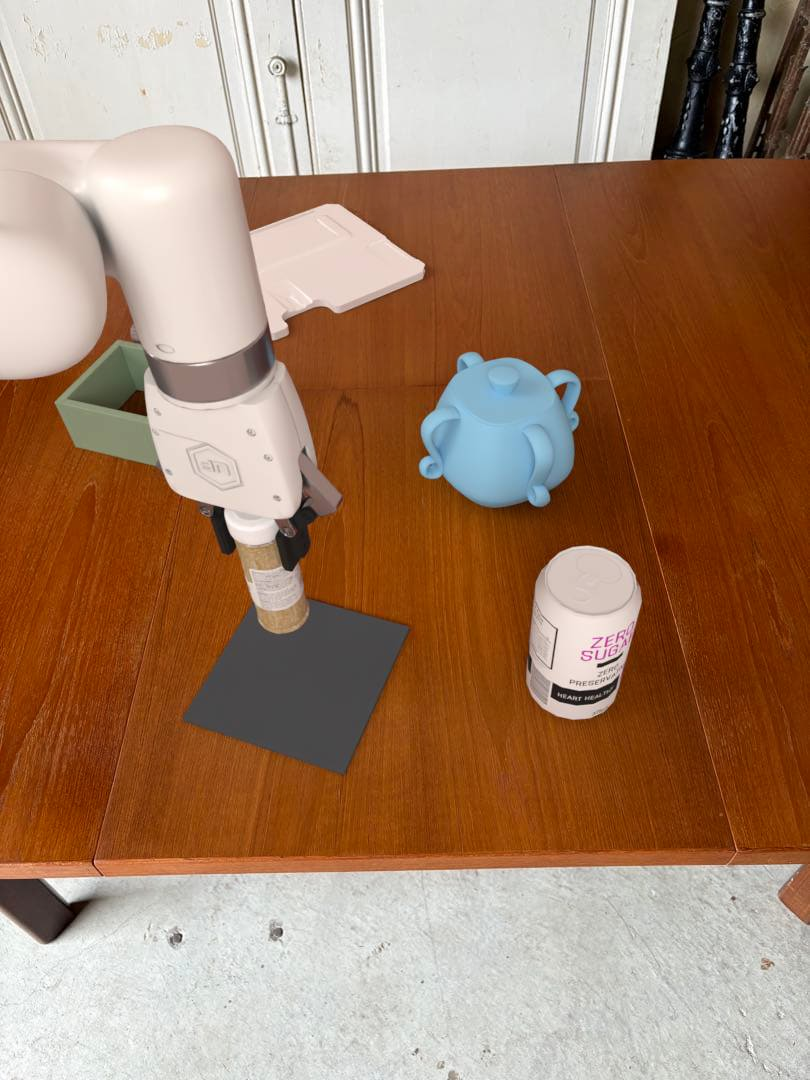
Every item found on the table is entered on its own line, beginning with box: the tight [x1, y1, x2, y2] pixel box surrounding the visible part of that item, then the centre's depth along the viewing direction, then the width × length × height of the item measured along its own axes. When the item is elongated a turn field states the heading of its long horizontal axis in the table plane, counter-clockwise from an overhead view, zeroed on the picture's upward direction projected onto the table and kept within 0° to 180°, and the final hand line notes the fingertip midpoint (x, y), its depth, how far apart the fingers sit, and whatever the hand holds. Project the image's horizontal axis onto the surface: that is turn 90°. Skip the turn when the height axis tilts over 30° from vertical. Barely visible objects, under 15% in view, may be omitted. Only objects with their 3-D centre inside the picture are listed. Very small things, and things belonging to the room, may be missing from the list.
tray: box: [249, 203, 426, 341], centre depth 124 cm, size 28×28×2 cm
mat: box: [181, 597, 411, 776], centre depth 76 cm, size 16×16×1 cm
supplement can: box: [525, 545, 643, 721], centre depth 68 cm, size 8×8×15 cm
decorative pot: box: [418, 351, 582, 509], centre depth 88 cm, size 16×16×14 cm
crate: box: [54, 339, 159, 467], centre depth 99 cm, size 13×13×7 cm
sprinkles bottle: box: [224, 508, 310, 634], centre depth 64 cm, size 5×5×14 cm
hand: (265, 547), depth 63 cm, fingers closed on sprinkles bottle, 4 cm apart
